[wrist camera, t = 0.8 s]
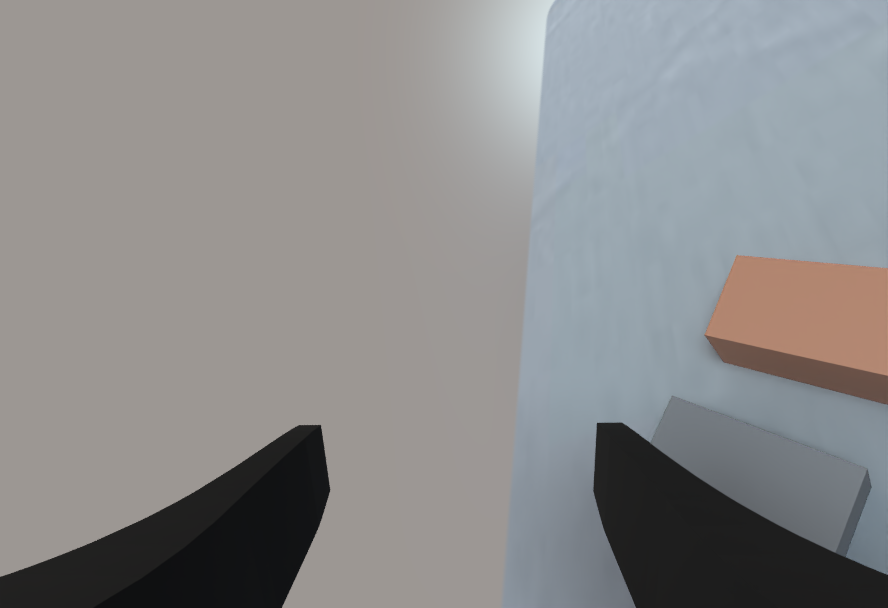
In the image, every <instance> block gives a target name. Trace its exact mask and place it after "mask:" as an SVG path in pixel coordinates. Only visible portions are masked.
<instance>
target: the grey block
mask: <svg viewBox="0 0 888 608" xmlns="http://www.w3.org/2000/svg"><path fill="white" fill-rule="evenodd" d="M651 444H652V445H653V446H655V447H656V448H657V449H659V450H660V451H662V452H663V453H664V454H666V455H667V456H668V457H670V458H671V459H672V460H674V461H675V462H677V463H678V464H679V465H681V466H682V467H684V468H685V469H687V470H688V471H690V472H691V473H692V474H694V475H695V476H697V477H698V478H700V479H701V480H703V481H704V482H706V483H708V484H709V485H711V486H712V487H714V488H715V489H717V490H718V491H720V492H722V493H723V494H725V495H726V496H728V497H730V498H731V499H733V500H735V501H736V502H738V503H740V504H741V505H743V506H745V507H747V508H748V509H750V510H752V511H754V512H756V513H757V514H759V515H761V516H763V517H765V518H766V519H768V520H770V521H772V522H774V523H775V524H777V525H779V526H781V527H783V528H785V529H787V530H789V531H791V532H793V533H795V534H797V535H799V536H801V537H803V538H805V539H807V540H809V541H812V542H814V543H816V544H818V545H820V546H822V547H824V548H826V549H828V550H831V551H833V552H835V553H837V554H839V555H841V556H844V557H845V556H846V553H847V551H848V548H849V545H850V543H851V540H852V537H853V535H854V532H855V529H856V527H857V524H858V521H859V519H860V516H861V513H862V511H863V508H864V505H865V503H866V500H867V497H868V495H869V492H870V490H871V483H870V478H869V474H868V469H867V468H864V467H862V466H859V465H856V464H854V463H851V462H848V461H846V460H843V459H840V458H838V457H835V456H832V455H830V454H827V453H824V452H821V451H819V450H816V449H813V448H811V447H808V446H805V445H803V444H800V443H797V442H795V441H792V440H789V439H787V438H784V437H781V436H779V435H776V434H773V433H771V432H768V431H765V430H763V429H760V428H757V427H755V426H752V425H749V424H747V423H744V422H741V421H739V420H736V419H733V418H731V417H728V416H725V415H723V414H720V413H717V412H715V411H712V410H709V409H707V408H704V407H701V406H699V405H696V404H693V403H690V402H688V401H685V400H682V399H680V398H677V397H674V396H672V397H671V399H670V401H669V403H668V406H667V408H666V410H665V412H664V414H663V417H662V419H661V421H660V423H659V426H658V428H657V430H656V432H655V435H654V437H653V439H652V441H651Z"/></svg>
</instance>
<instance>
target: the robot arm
mask: <svg viewBox="0 0 888 608" xmlns="http://www.w3.org/2000/svg"><path fill="white" fill-rule="evenodd" d="M593 491H594V495H595V499H596V503H597V506H598V510H599V514H600V517H601V521H602V524H603V528H604V531H605V533H606V536H607V538H608V541H609V543H610V546H611V548H612V551H613V553H614V556H615V558H616V560H617V563H618V565H619V568H620V570H621V572H622V575H623V577H624V580H625V582H626V584H627V587H628V589H629V592H630V594H631V596H632V599H633V601H634V604H635V606H636V608H888V575H886V574H884V573H881V572H879V571H876V570H874V569H871V568H869V567H867V566H864V565H862V564H860V563H857V562H855V561H853V560H850V559H848V558H846V557H844V556H841V555H839V554H837V553H835V552H833V551H831V550H828V549H826V548H824V547H822V546H820V545H818V544H816V543H814V542H812V541H809V540H807V539H805V538H803V537H801V536H799V535H797V534H795V533H793V532H791V531H789V530H787V529H785V528H783V527H781V526H779V525H777V524H775V523H774V522H772V521H770V520H768V519H766V518H765V517H763V516H761V515H759V514H757V513H756V512H754V511H752V510H750V509H748V508H747V507H745V506H743V505H741V504H740V503H738V502H736V501H735V500H733V499H731V498H730V497H728V496H726V495H725V494H723V493H722V492H720V491H718V490H717V489H715V488H714V487H712V486H711V485H709V484H708V483H706V482H704V481H703V480H701V479H700V478H698V477H697V476H695V475H694V474H692V473H691V472H690V471H688V470H687V469H685V468H684V467H682V466H681V465H679V464H678V463H677V462H675V461H674V460H672V459H671V458H670V457H668V456H667V455H666V454H664V453H663V452H662V451H660V450H659V449H657V448H656V447H655V446H653V445H652V444H651V443H649V442H648V441H647V440H645V439H644V438H643V437H641V436H640V435H639V434H637V433H636V432H635V431H633V430H632V429H630V428H629V427H628V426H626V425H625V424H623V423H597V434H596V453H595V471H594V490H593ZM329 492H330V485H329V478H328V471H327V465H326V457H325V450H324V443H323V436H322V429H321V425H299V426H297V427H295V428H293V429H291V430H290V431H288V432H287V433H285V434H284V435H282V436H280V437H279V438H277V439H276V440H275V441H273V442H271V443H270V444H268V445H267V446H266V447H264V448H263V449H261V450H260V451H258V452H257V453H255V454H254V455H252V456H251V457H249V458H248V459H246V460H245V461H243V462H242V463H240V464H239V465H237V466H236V467H234V468H233V469H231V470H229V471H228V472H226V473H225V474H223V475H221V476H220V477H218V478H216V479H215V480H214V481H212V482H210V483H208V484H207V485H205V486H204V487H202V488H200V489H199V490H197V491H195V492H194V493H192V494H190V495H189V496H187V497H185V498H183V499H181V500H180V501H178V502H176V503H174V504H172V505H170V506H168V507H166V508H164V509H162V510H160V511H159V512H157V513H155V514H153V515H151V516H149V517H147V518H145V519H143V520H141V521H138V522H136V523H134V524H132V525H130V526H128V527H125V528H123V529H121V530H119V531H116V532H114V533H112V534H110V535H108V536H105V537H103V538H101V539H99V540H97V541H94V542H92V543H90V544H87V545H85V546H83V547H80V548H77V549H75V550H72V551H70V552H68V553H65V554H62V555H60V556H57V557H55V558H52V559H50V560H47V561H44V562H41V563H39V564H36V565H34V566H31V567H28V568H25V569H22V570H19V571H16V572H14V573H11V574H8V575H5V576H2V577H0V608H282V606H283V604H284V602H285V599H286V597H287V595H288V593H289V591H290V589H291V587H292V584H293V582H294V580H295V578H296V576H297V574H298V572H299V569H300V567H301V565H302V563H303V561H304V559H305V556H306V554H307V552H308V550H309V548H310V545H311V543H312V541H313V539H314V537H315V534H316V532H317V530H318V527H319V525H320V521H321V519H322V515H323V513H324V509H325V506H326V502H327V499H328V496H329Z"/></svg>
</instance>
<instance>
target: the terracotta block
mask: <svg viewBox="0 0 888 608" xmlns="http://www.w3.org/2000/svg"><path fill="white" fill-rule="evenodd" d="M705 336H706V338H707V339H708V340H709V342H710V343H711V345H712V346H713V347H714V349H715V350H716V352H717V353H718V354H719V356H720V357H721V359H722V360H723V361H724V362H725V363H729V364H733V365H737V366H740V367H744V368H748V369H752V370H756V371H760V372H764V373H767V374H771V375H775V376H779V377H783V378H787V379H791V380H795V381H798V382H802V383H806V384H810V385H814V386H818V387H822V388H825V389H829V390H833V391H837V392H841V393H845V394H849V395H853V396H856V397H860V398H864V399H868V400H872V401H876V402H880V403H883V404H887V405H888V268H877V267H866V266H854V265H843V264H831V263H820V262H808V261H797V260H785V259H774V258H762V257H751V256H739V255H737V256H736V258H735V261H734V263H733V266H732V268H731V271H730V273H729V276H728V278H727V281H726V283H725V286H724V288H723V291H722V293H721V296H720V298H719V300H718V303H717V305H716V308H715V310H714V313H713V315H712V318H711V320H710V323H709V325H708V328H707V330H706V333H705Z"/></svg>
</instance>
